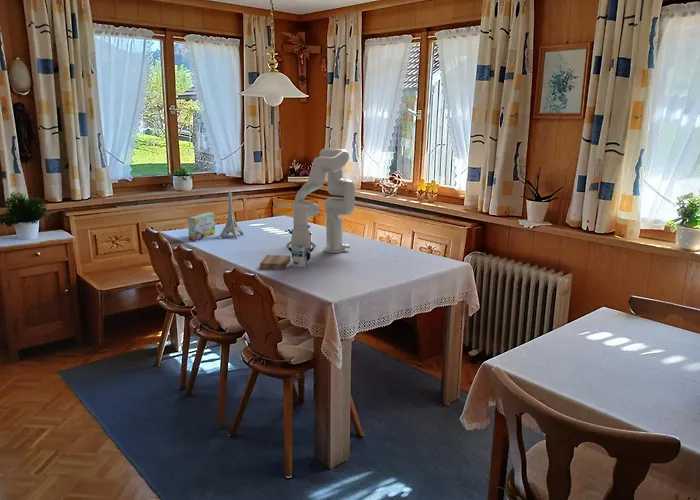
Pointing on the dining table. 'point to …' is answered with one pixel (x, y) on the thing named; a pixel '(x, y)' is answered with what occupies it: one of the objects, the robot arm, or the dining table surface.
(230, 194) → the eiffel tower
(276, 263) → the podium
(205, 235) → the snack box
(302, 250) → the light bulb box
